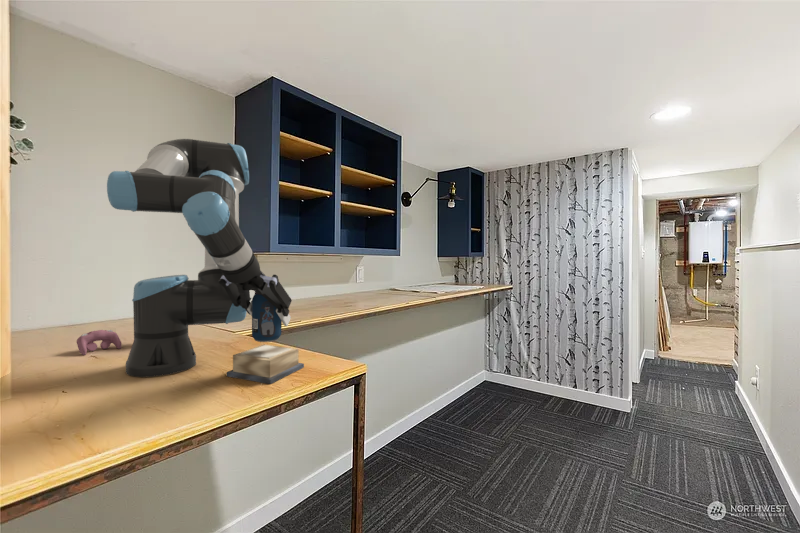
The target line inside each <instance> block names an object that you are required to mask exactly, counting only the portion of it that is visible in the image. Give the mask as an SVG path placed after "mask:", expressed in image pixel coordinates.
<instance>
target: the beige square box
mask: <svg viewBox="0 0 800 533" xmlns="http://www.w3.org/2000/svg"><path fill="white" fill-rule="evenodd" d="M303 368H305V364H304V363H301V362H299V348H294V347H293V348H292V347H288V346H287V347H285V346H279V345H278V346H277V345H272V344H266V343H265V344H261V345H258V346H255V347H253V348H250V349H246V350H244V351H240V352H238V353H235V354H233V355H232V369H231V370H229V371H226V377H228V378H229V377H230V378H234V379H235V378H236V379H240V380H245V381H251V382H257V383H262V384H267V385H268V384H269V385H273V384H274V383H276V382H278V381H280V380H282V379H283V378H285V377H288V376H289V375H292V374H293V373H295V372H297V371H300V370H301V369H303Z"/></svg>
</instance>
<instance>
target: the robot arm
mask: <svg viewBox="0 0 800 533" xmlns="http://www.w3.org/2000/svg"><path fill="white" fill-rule="evenodd" d="M248 162H249V161H248V156H247V152H246V149H245V148H244V147H243V146H242V145H239V144H233V143H230V142H227V143H224V142H215V141H210V140H209V141H207V140H199V139H193V138H192V139H191V138H179V139H177V138H176V139H172V140H167V141H165V142H164V141H163V142H161V143H159V144H157V145H155V146H153V147H152V148H151V149H150V151H149V152H148V153H147V156H146V160H145V161H144V162H143V163H142V164H141V165H140V166H139V167H137V169H136V170H134V171H130V170H125V171H124V170H123V171H122V170H121V171H120V170H113V171H111V172H110V173H109V174H108V176H107V180H106V192H107V198H108V201H109V205H111V207H112V208H113V209H115V210H121V211H122V210H123V211H131V212H146V213H148V212H151V213H173V214H182V215H183V218H185V221H186V222H187V223H186V224H187V225H188V227H189V228H190V230H191V231H192V232H193V233H194V235H196V237H197V240H199V241H200V243H201V244H202V246H203V247H204V268H202V269H201V270H200V271H199V272H198V273H197V279H193V280H190V279H189V277H188V275H187V274H173V275H165V276H158V277H151V278H145V279H142V280H139V281H137V282H136V283H135V284H134V287H133V294H132V295H133V297H132V300H131V301H132V303H133V304H132V305H133V308H132V310H133V343H132V345H131V348H130V351H129V353H128V356H127V360H126V361H125V373H126V375H128V376H131V377H138V378H153V377H162V376H168V375H173V374H177V373H181V372H184V371H187V370H189V369H191V368H194V366H196V364H197V355H196V352H195V350H194V347H193V343H192V342H191V339H190V336H189V326H201V325H216V324H217V325H218V324H226V325H228V324H232V323H238V322H239V323H240V322H242V321H244V320H245V319H246V317H247V314H248V315H250V316H251V317H252V297H251V295H250V291H253V292H254V293H255V292H256V293H257V294H258V295H262V296H263V297H265V298H266V299H267V300H268V301H269V302H270V303H271V304H272V305H274V306H275V307H276V308H277V309H276V312H277V314H278V316H279V317H280V319H281V321H282V325H284V327H288V326H289V323H290V320H291V318H292V316H291V315H290V309H289V308H290V307H291V303H292V300H293V299H292V298H291V296H290V295H289V294H288V292H287V290H285V287H283V285H282V284H281V282H280V281H279V280H280V279H279V276H278V275H277V274H272V276H267V275H266V274H265V273H264V272H263V271H262V270H261V265H260V262H259V261H258V259H257V256H256V255H255V253H254V252H253V249H252V248H251V246H250V245H249V242H248V241H247V240H246V238H245V235H244V234H243V233H242V231H241V228H240V219H239V218H240V213H239V212H240V210H239V209H240V204H239V203H240V202H239V200H240V199H239V198H240V197H239V195H240V193H242V192H243V191H244V189H245V186H247V185H249V183H250V171H249V163H248Z"/></svg>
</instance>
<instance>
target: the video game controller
mask: <svg viewBox="0 0 800 533" xmlns="http://www.w3.org/2000/svg"><path fill="white" fill-rule="evenodd" d="M98 341H101V342H100V345H99V347H100V348H101V349H102V350H107V349H109V348H110V347H111V344H113V345H114V346H115V347H116V348H117V349H119V350H121V349H122V347H123V344H122V341H121V338H120V336H119V335H118V333H117V332H115V331H114V330H112V329H108V330H107V329H97V330H92V331H89V332H86V333H83V334H82V335H80V336H79V337H78V338H77V339H76V345H77V348H78V351H79V353H80V354H81V355H83V356H86V354H87V351H88V352H90V351H92V352H95V350H97V349H98V344H97V343H95V342H98Z"/></svg>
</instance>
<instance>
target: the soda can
mask: <svg viewBox="0 0 800 533" xmlns="http://www.w3.org/2000/svg"><path fill="white" fill-rule="evenodd" d="M251 301H252V316H251V336H252V338H253V340H254V341H255V342H259V343H270V342H277V341H278V340H279V339H280V338H281V335H282V325H283V322H282V321H281V319H280V317H279V316H278V314H277V312H276V309H277V308H276V307H275V306H274V305H272V304H271V303H270V302H269V301H268V300H267V299H266V298H265V297H263V296H262V295H258V294H257V293H256V292H255V291H254V295H253V297H251Z"/></svg>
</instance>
